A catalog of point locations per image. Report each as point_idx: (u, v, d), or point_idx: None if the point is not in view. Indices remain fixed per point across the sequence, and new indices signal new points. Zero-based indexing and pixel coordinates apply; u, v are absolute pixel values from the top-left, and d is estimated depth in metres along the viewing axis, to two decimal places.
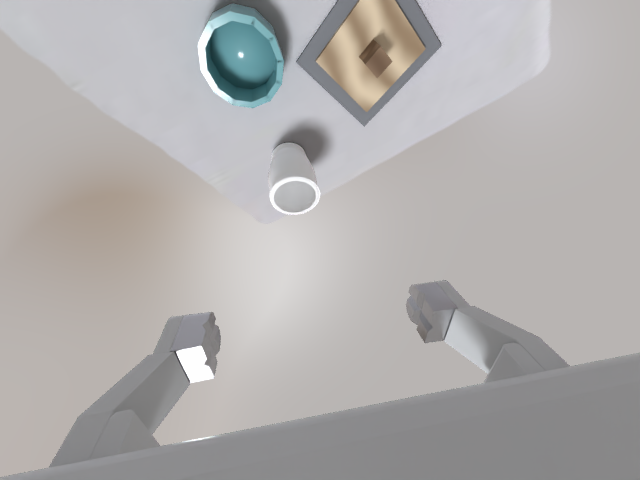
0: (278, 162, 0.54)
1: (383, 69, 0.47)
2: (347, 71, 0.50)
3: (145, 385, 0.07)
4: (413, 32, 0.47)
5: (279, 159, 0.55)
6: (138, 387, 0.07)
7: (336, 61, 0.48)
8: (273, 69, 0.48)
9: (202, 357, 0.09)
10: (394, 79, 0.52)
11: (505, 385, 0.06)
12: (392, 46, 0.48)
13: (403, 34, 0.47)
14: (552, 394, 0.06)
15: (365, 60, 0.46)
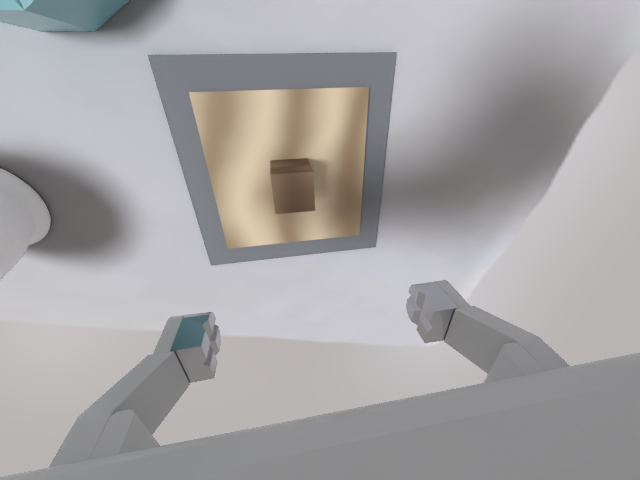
0: None
1: (294, 209, 0.23)
2: (237, 163, 0.24)
3: (145, 385, 0.07)
4: (359, 202, 0.28)
5: None
6: (138, 387, 0.07)
7: (228, 130, 0.23)
8: None
9: (202, 357, 0.09)
10: (299, 237, 0.29)
11: (505, 385, 0.06)
12: (324, 193, 0.27)
13: (347, 193, 0.27)
14: (552, 394, 0.06)
15: (275, 169, 0.22)
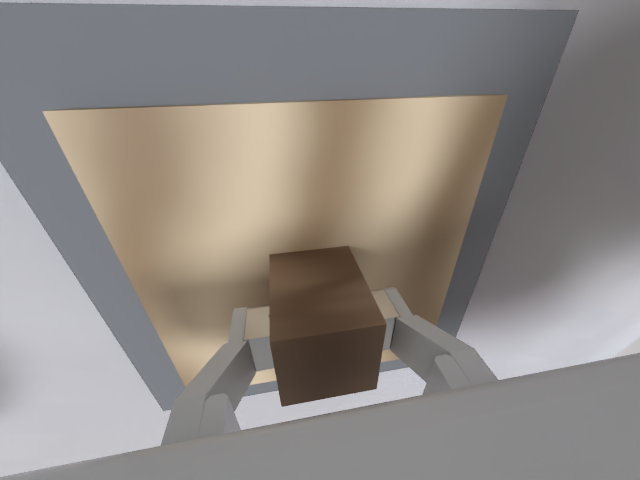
0: None
1: (328, 392, 0.09)
2: (196, 264, 0.11)
3: (228, 371, 0.08)
4: (437, 310, 0.15)
5: None
6: (223, 373, 0.07)
7: (168, 201, 0.09)
8: None
9: None
10: None
11: (505, 385, 0.06)
12: None
13: (418, 297, 0.14)
14: (552, 394, 0.06)
15: (281, 309, 0.08)
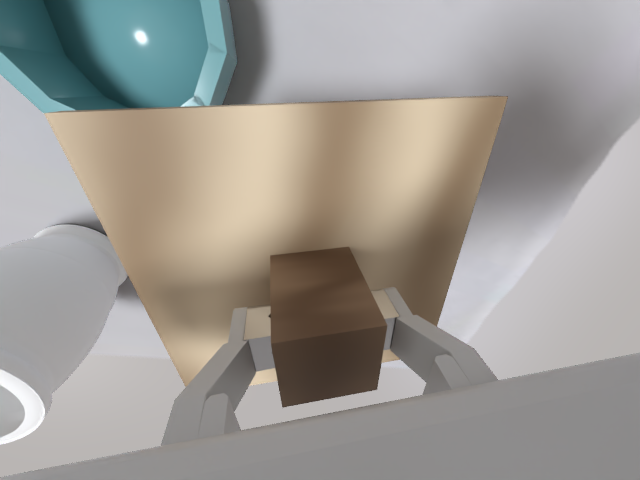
0: None
1: (328, 393, 0.09)
2: (197, 265, 0.11)
3: (228, 371, 0.08)
4: (438, 310, 0.15)
5: (18, 263, 0.19)
6: (223, 373, 0.07)
7: (169, 202, 0.09)
8: None
9: None
10: None
11: (505, 385, 0.06)
12: None
13: (419, 298, 0.14)
14: (552, 394, 0.06)
15: (282, 310, 0.08)
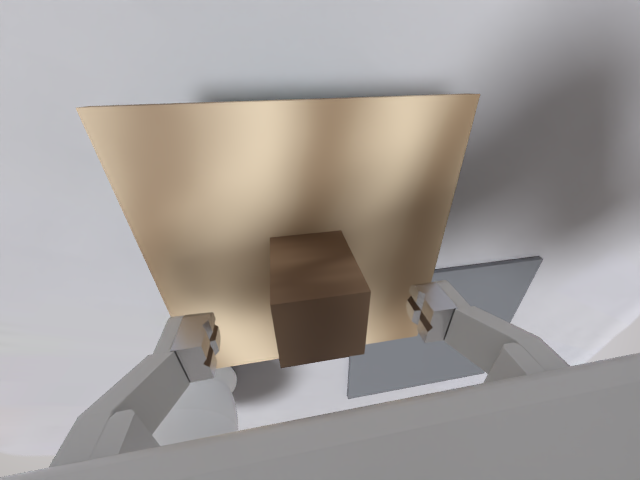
0: None
1: (321, 356, 0.10)
2: (204, 246, 0.12)
3: (145, 385, 0.07)
4: None
5: (183, 438, 0.19)
6: (138, 387, 0.07)
7: (181, 187, 0.11)
8: None
9: (202, 357, 0.09)
10: None
11: (505, 385, 0.06)
12: (368, 283, 0.15)
13: (406, 280, 0.15)
14: (552, 394, 0.06)
15: (280, 280, 0.10)
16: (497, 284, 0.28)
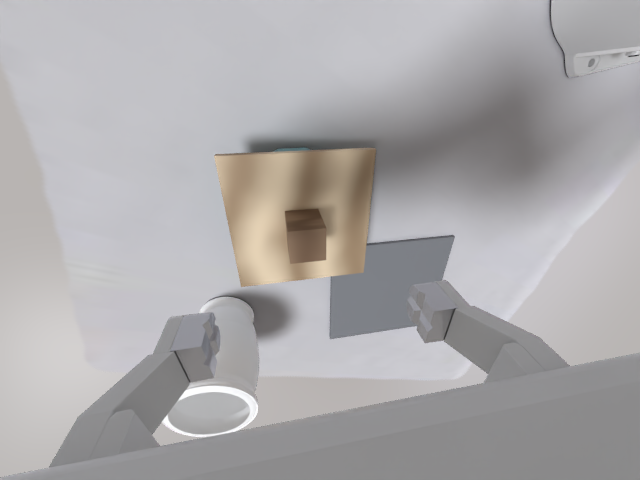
0: (224, 337, 0.32)
1: (307, 259, 0.25)
2: (254, 214, 0.26)
3: (145, 385, 0.07)
4: (364, 244, 0.31)
5: (229, 332, 0.33)
6: (138, 387, 0.07)
7: (248, 187, 0.25)
8: None
9: (202, 357, 0.09)
10: (307, 275, 0.31)
11: (505, 385, 0.06)
12: (333, 237, 0.29)
13: (353, 237, 0.30)
14: (552, 394, 0.06)
15: (291, 225, 0.24)
16: (426, 253, 0.42)
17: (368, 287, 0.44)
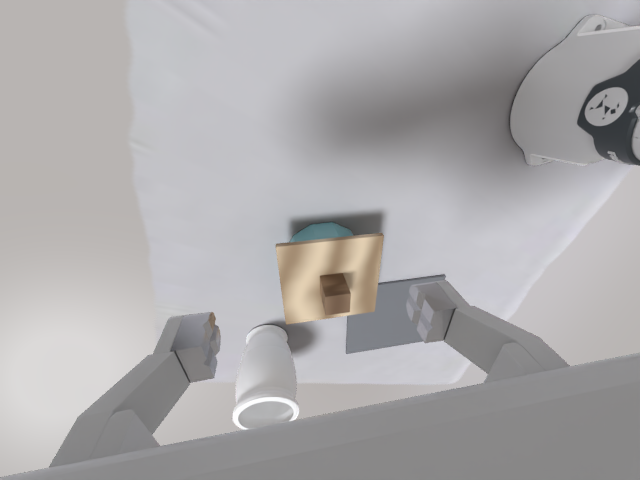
0: (272, 360, 0.44)
1: (337, 312, 0.36)
2: (299, 278, 0.38)
3: (145, 385, 0.07)
4: (375, 293, 0.42)
5: (275, 355, 0.45)
6: (138, 387, 0.07)
7: (296, 263, 0.36)
8: None
9: (202, 357, 0.09)
10: (333, 315, 0.43)
11: (505, 385, 0.06)
12: (352, 290, 0.41)
13: (367, 289, 0.41)
14: (552, 394, 0.06)
15: (326, 290, 0.35)
16: None
17: (377, 314, 0.55)
